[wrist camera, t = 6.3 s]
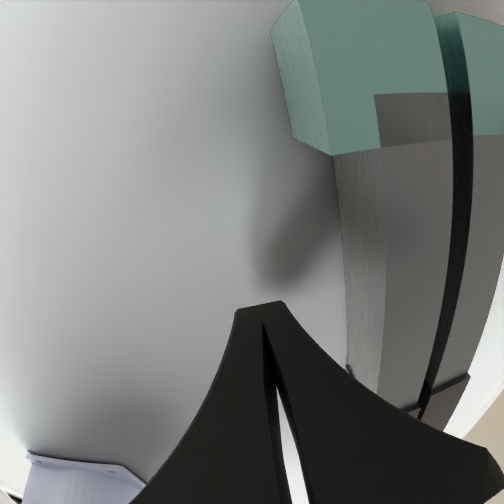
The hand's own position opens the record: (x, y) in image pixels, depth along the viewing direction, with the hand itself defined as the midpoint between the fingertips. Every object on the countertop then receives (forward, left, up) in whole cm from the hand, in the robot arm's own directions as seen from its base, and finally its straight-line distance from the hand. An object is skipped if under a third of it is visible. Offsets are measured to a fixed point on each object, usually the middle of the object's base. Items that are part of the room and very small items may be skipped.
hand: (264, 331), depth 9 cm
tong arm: (+4, -3, -1) cm, 5 cm away
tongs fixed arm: (+7, -1, -1) cm, 7 cm away
